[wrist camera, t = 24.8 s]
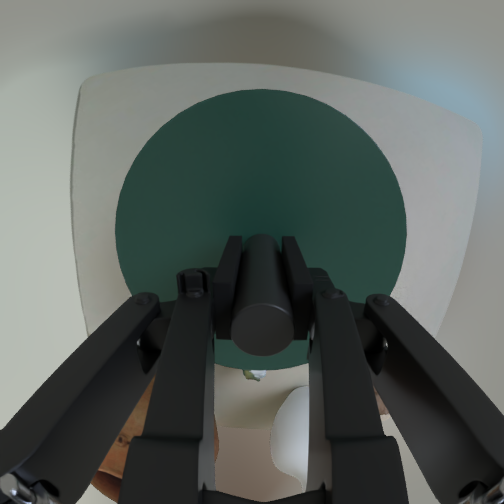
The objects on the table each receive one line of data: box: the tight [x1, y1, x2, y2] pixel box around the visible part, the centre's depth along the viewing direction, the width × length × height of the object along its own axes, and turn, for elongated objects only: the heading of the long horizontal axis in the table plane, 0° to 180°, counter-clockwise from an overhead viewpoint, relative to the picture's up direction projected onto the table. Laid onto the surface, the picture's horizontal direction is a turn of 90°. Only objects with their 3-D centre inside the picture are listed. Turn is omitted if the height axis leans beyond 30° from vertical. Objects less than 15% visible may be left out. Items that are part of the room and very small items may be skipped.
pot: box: [91, 374, 219, 503], centre depth 40 cm, size 24×24×30 cm
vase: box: [270, 386, 309, 493], centre depth 40 cm, size 14×14×28 cm
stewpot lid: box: [115, 89, 407, 371], centre depth 15 cm, size 21×21×10 cm
